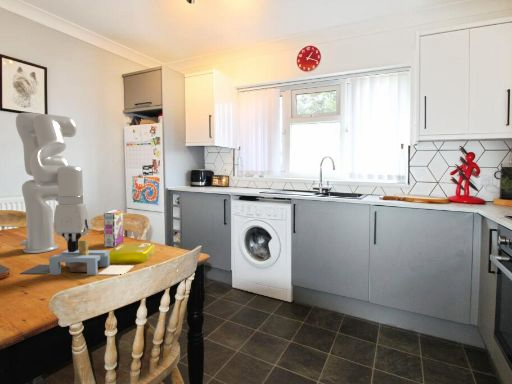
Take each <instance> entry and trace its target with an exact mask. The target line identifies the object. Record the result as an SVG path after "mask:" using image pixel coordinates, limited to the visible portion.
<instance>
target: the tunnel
mask: <svg viewBox="0 0 512 384" xmlns="http://www.w3.org/2000/svg"><path fill="white" fill-rule="evenodd" d="M109 252H110V250H105V249H103V250H101V249H94V250H93V249H92V250H91V249H88V254H89V255H79V249H78V250H77V251H75V252H68V249H66V250H64V251H61V253H60V254H54V255H51V256H50V257H48V261H49V262H48V265H49V266H50V272H49V275H60V274H62V273H61V272H62V269H61V268H62V266H61V265H62V264H61V263H64V264H65V267H69V268H70V263H71V262H87V272H86V275H87V276H97V275H98V273H99V271H98V268H107V267H109V266H110V265H111V263H109ZM97 261H98V265H97Z"/></svg>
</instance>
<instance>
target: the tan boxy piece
mask: <svg viewBox="0 0 512 384" xmlns="http://www.w3.org/2000/svg"><path fill="white" fill-rule="evenodd" d="M78 246H79V247H78V250H79V255H89V254H88V250H89V240H88V239H79V240H78ZM97 265H98V261H97ZM69 272H71V273H72V272H74V273H75V272H77V273H80V272H83V273H87V262H71V263H70V267H69Z"/></svg>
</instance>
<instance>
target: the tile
mask: <svg viewBox="0 0 512 384" xmlns="http://www.w3.org/2000/svg"><path fill="white" fill-rule="evenodd" d="M134 267H135V265H130V264H129V265H127V264H126V265H120V264H119V265H117V264H112V265H111V264H110V266H109V267H105V268H104V269H103V270H102V271H99V272H98V274H97V275H99V276H121V275H120V274H124V273H125V274H126V273H128V272H129V271H130V270H132V269H133V268H134ZM125 274H124V275H125Z"/></svg>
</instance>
